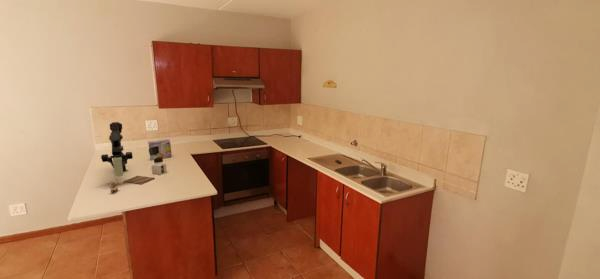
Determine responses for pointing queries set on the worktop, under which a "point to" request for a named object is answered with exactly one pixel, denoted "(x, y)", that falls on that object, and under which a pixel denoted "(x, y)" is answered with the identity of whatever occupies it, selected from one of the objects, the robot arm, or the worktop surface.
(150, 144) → the cake pan box
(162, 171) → the container
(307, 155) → the worktop surface
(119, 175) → the sage block
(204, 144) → the worktop surface
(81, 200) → the worktop surface
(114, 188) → the architectural model
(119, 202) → the worktop surface
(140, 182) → the walnut board
